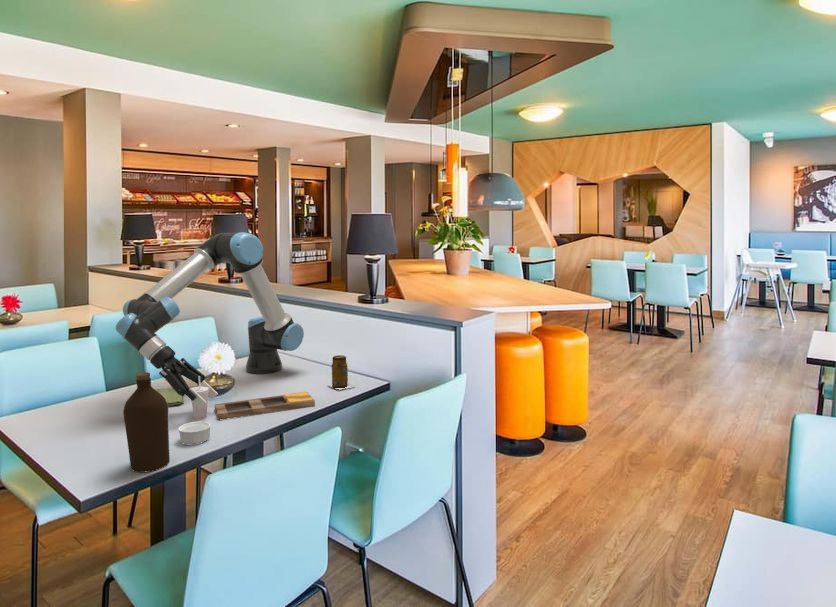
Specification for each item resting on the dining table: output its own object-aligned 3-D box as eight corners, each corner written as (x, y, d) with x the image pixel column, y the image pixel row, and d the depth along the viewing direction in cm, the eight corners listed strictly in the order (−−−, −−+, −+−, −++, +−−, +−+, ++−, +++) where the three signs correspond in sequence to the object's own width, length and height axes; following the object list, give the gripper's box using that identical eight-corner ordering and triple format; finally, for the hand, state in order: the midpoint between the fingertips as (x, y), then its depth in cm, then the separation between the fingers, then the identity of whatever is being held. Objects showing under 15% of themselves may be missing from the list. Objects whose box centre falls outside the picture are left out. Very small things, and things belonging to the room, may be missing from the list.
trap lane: (214, 410, 193) (214, 403, 193) (307, 397, 206) (306, 391, 206) (218, 420, 183) (218, 413, 183) (314, 405, 197) (314, 399, 196)
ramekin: (188, 434, 172) (187, 420, 171) (216, 435, 171) (215, 421, 170) (173, 445, 163) (172, 431, 162) (202, 446, 162) (202, 432, 161)
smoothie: (198, 422, 182) (195, 380, 180) (186, 418, 185) (183, 377, 183) (215, 416, 187) (212, 375, 185) (202, 412, 190) (200, 372, 188)
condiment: (343, 383, 224) (342, 353, 222) (354, 387, 218) (354, 357, 216) (327, 386, 220) (326, 356, 218) (338, 391, 213) (337, 360, 211)
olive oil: (141, 477, 143) (133, 381, 139) (120, 467, 149) (112, 375, 145) (180, 462, 151) (173, 372, 148) (158, 453, 157) (151, 366, 154)
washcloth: (143, 412, 193) (142, 403, 192) (145, 397, 209) (145, 388, 208) (184, 406, 198) (184, 398, 198) (183, 392, 214) (183, 384, 214)
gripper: (166, 353, 194) (215, 398, 196) (133, 369, 173) (187, 419, 175) (180, 338, 193) (229, 383, 195) (148, 352, 172) (203, 403, 174)
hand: (209, 400), depth 185 cm, fingers open, 8 cm apart
